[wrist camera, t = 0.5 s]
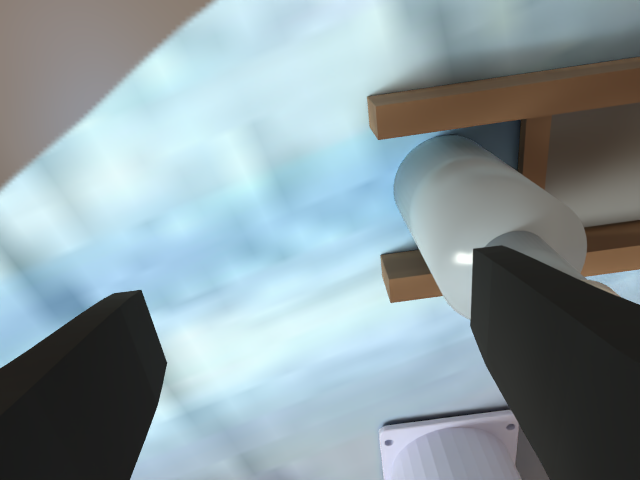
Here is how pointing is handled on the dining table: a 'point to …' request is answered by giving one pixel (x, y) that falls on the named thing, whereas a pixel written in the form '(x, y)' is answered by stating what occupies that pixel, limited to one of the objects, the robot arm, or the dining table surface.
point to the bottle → (481, 215)
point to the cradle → (540, 152)
